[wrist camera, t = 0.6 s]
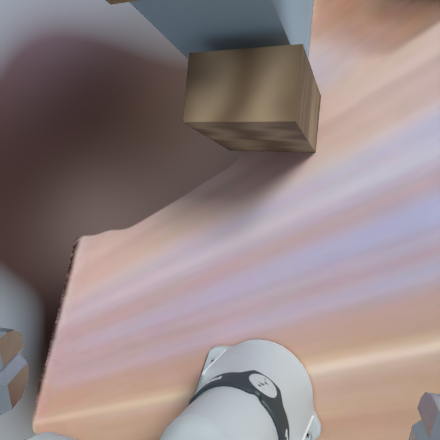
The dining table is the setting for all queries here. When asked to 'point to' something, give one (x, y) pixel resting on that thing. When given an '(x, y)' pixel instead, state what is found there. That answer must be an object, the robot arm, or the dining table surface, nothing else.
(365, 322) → the dining table surface
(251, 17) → the cabinet
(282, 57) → the walnut block
